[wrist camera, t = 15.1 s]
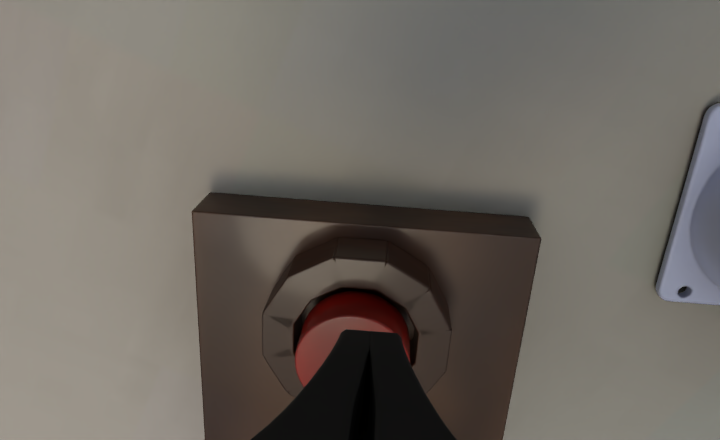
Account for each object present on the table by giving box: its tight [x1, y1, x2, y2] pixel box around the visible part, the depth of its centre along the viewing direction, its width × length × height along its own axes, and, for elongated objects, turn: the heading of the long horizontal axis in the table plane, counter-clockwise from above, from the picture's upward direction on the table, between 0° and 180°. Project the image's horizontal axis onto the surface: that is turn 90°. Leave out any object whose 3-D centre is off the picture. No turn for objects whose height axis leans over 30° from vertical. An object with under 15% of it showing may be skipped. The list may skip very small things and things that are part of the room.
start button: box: [295, 291, 410, 387], centre depth 20 cm, size 4×4×2 cm
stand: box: [192, 193, 541, 440], centre depth 24 cm, size 13×18×4 cm
